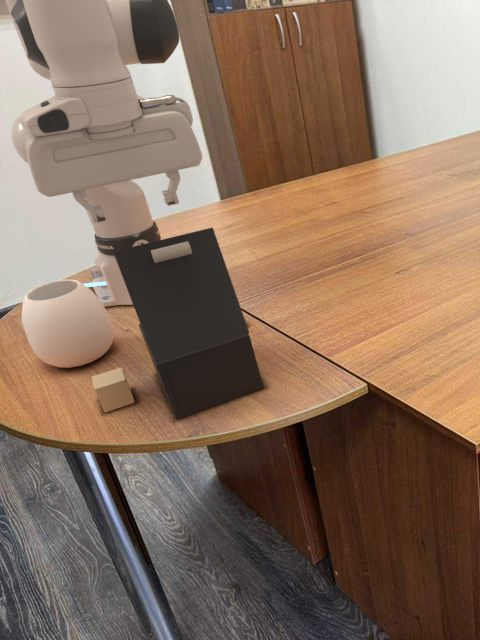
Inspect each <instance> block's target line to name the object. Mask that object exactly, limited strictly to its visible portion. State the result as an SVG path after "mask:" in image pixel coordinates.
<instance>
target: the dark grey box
mask: <svg viewBox="0 0 480 640" xmlns="http://www.w3.org/2000/svg"><path fill="white" fill-rule="evenodd" d="M138 327H139V330H140V332H141V335H142V338H143V340H144V343H145V346H146V349H147V352H148V354H149V357H150V359H151V362H152V366H153V367H154V370H155V372H156V375H157V378H158V380H159V382H160V384H161V387H162V390H163V392H164V395H165V396H166V399H167V401H168V403H169V405H170V408H171V410H172V413H173V415H174V417H175V420H179V419H182V418H185V417H187V416H190V415H194V414H196V413H199V412H200V411H205V410H206V409H210V408H211V407H215V406H219V405H221V404H224V403H227V402H229V401H232V400H235V399H238V398H241V397H244V396H246V395H249V394H252V393H254V392H258V391H259V390H263V389H264V388H265V387H264V383H263V379H262V376H261V372H260V369H259V365H258V360H257V357H256V353H255V351H254V347H253V343H252V339H251V336H250V333H249V334H245V335H242V336H239V337H236V338H233V339H230V340H227V341H224V342H220V343H217V344H214V345H211V346H208V347H205V348H202V349H199V350H195V351H192V352H189V353H186V354H183V355H180V356H177V357H173V358H170V359H167V360H164V361H161V362H158V363H155V361H154V358H153V355H152V353H151V350H150V348H149V345H148V342H147V340H146V337H145V334H144V332H143V329H142V327H141V324H140V323H139V324H138Z"/></svg>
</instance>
